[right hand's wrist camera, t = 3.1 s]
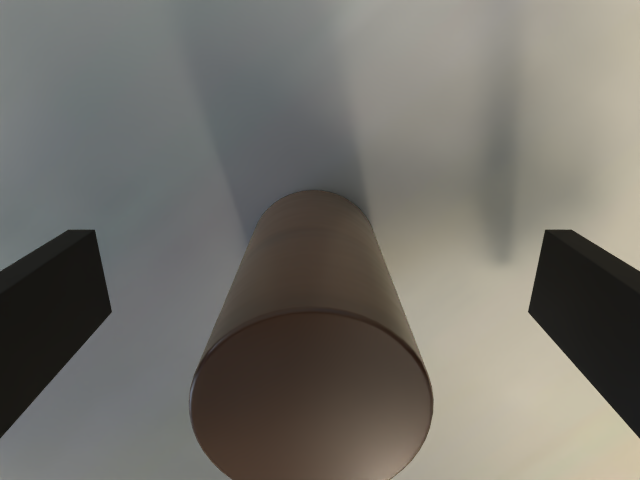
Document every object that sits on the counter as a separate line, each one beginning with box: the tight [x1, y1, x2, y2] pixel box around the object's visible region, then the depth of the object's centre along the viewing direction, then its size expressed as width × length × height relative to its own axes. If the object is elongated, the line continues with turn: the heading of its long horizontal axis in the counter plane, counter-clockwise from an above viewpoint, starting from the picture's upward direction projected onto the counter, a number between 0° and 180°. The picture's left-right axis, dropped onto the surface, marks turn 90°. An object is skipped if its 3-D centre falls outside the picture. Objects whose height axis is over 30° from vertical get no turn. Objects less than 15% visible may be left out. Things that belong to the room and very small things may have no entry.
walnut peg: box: [189, 190, 433, 480], centre depth 11 cm, size 4×4×8 cm
